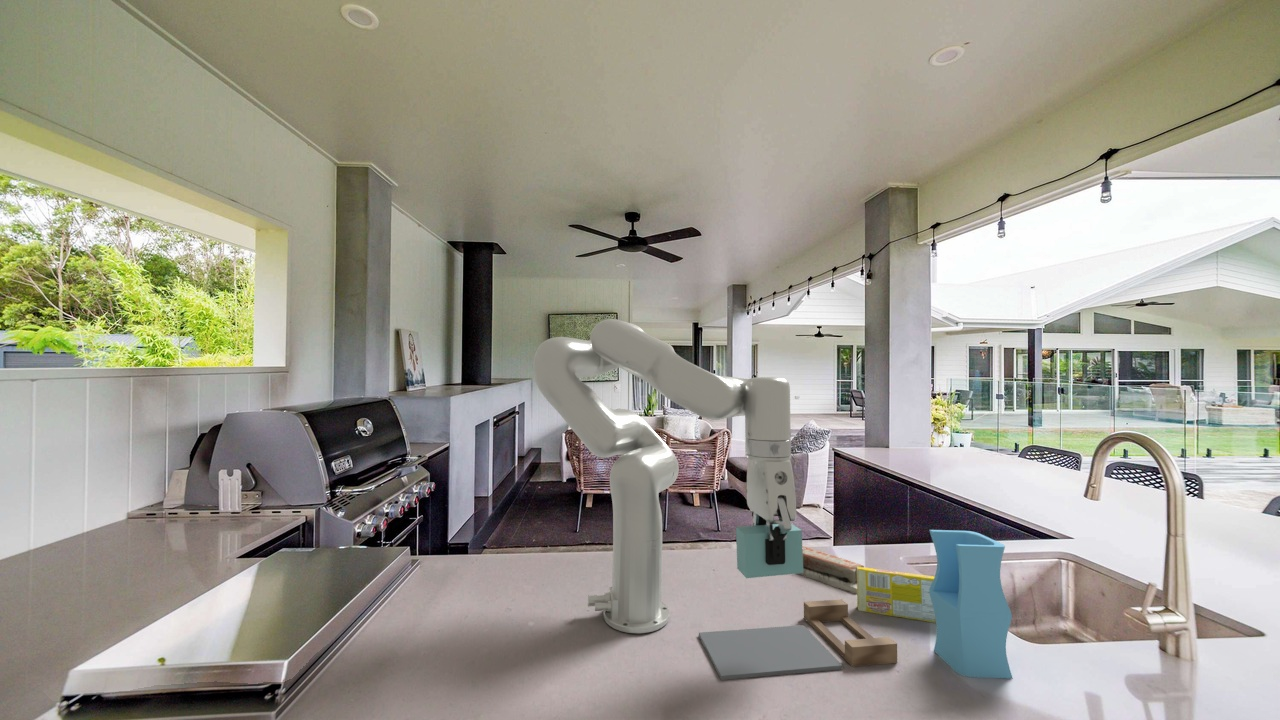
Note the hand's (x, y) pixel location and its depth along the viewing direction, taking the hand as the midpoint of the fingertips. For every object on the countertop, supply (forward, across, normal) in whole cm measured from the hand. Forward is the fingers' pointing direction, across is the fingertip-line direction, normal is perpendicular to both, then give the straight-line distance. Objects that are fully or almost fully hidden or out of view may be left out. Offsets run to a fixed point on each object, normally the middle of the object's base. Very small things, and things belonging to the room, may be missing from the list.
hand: (769, 557), depth 77 cm
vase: (+16, -7, -32) cm, 36 cm away
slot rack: (+16, +2, -16) cm, 22 cm away
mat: (+16, 0, 0) cm, 16 cm away
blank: (+2, 0, 0) cm, 2 cm away
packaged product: (+16, +28, -27) cm, 42 cm away
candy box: (+16, +8, -32) cm, 36 cm away
